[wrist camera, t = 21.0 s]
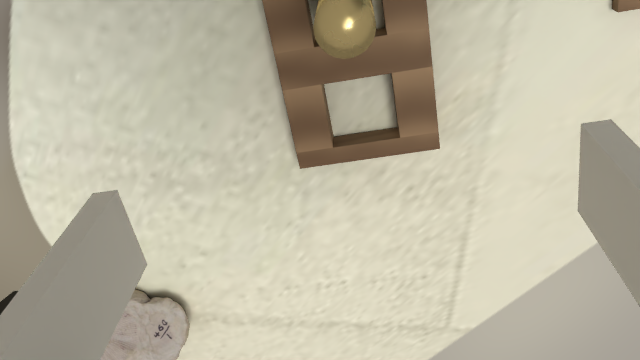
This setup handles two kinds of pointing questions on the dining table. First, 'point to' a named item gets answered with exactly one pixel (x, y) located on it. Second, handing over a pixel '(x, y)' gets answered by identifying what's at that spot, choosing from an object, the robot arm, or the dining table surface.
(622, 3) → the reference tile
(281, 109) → the dining table surface
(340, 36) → the peg
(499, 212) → the dining table surface
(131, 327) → the fossil
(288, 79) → the board
